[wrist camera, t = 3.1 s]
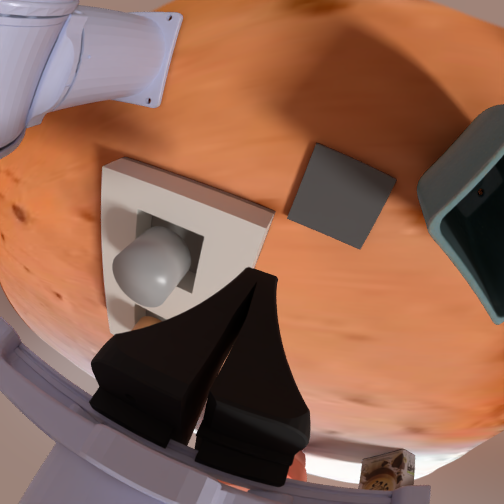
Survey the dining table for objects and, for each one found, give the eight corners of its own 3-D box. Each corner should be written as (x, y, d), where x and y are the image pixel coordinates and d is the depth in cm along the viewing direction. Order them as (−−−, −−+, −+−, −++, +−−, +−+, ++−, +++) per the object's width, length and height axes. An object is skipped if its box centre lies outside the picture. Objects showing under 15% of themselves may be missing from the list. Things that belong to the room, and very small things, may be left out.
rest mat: (287, 216, 22) (287, 218, 21) (316, 142, 18) (316, 143, 18) (359, 247, 21) (359, 249, 21) (395, 178, 18) (396, 180, 17)
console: (122, 317, 35) (110, 332, 33) (124, 156, 23) (102, 166, 20) (217, 365, 34) (208, 383, 32) (275, 211, 22) (266, 228, 19)
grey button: (139, 263, 24) (113, 290, 21) (142, 217, 22) (111, 241, 18) (186, 286, 24) (164, 317, 21) (195, 240, 21) (169, 269, 18)
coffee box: (403, 448, 36) (395, 527, 23) (415, 455, 37) (410, 527, 24) (360, 459, 41) (348, 531, 28) (376, 465, 42) (366, 533, 29)
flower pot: (389, 172, 18) (422, 228, 10) (465, 89, 13) (540, 96, 5) (457, 250, 19) (497, 329, 11) (525, 180, 14) (592, 233, 6)
